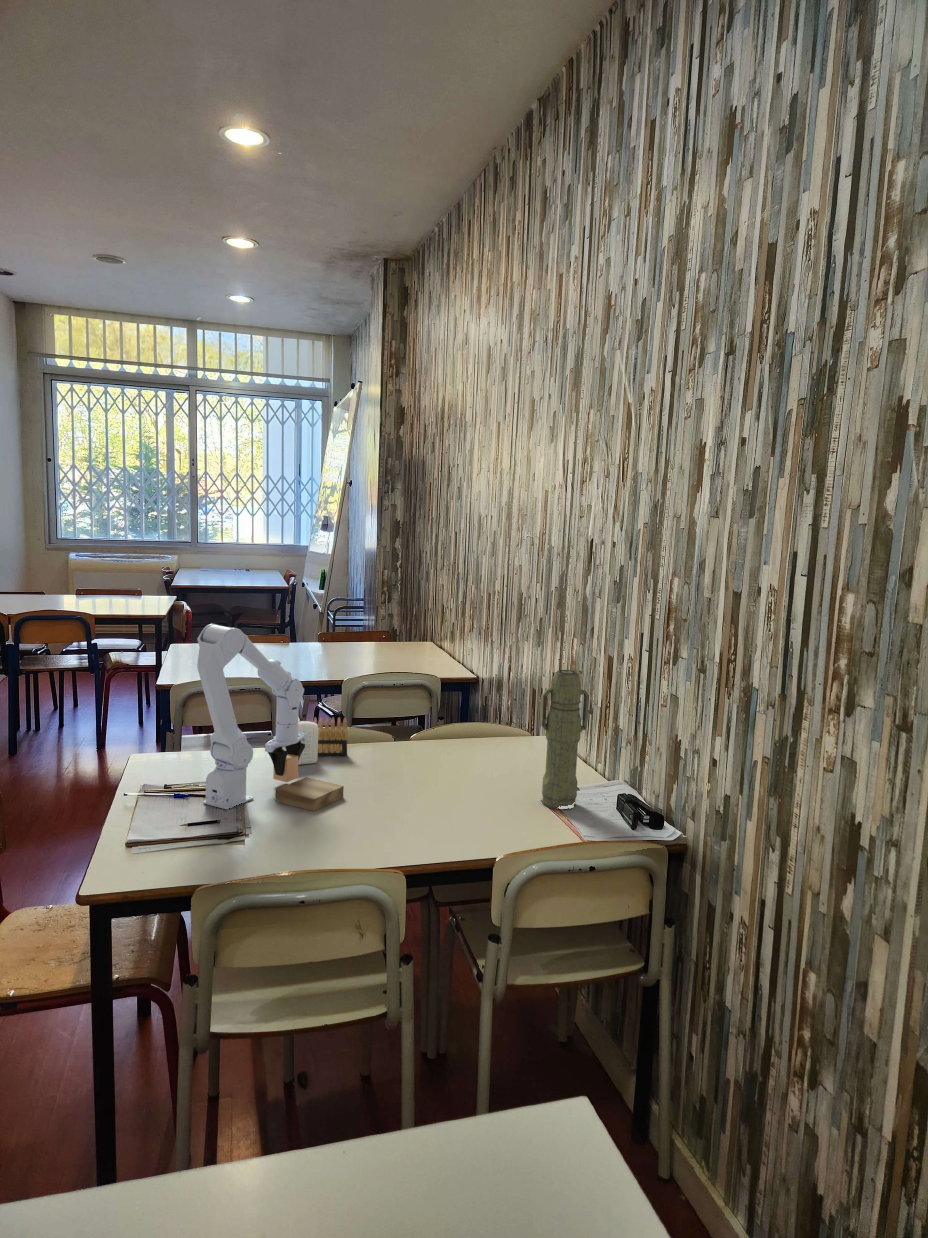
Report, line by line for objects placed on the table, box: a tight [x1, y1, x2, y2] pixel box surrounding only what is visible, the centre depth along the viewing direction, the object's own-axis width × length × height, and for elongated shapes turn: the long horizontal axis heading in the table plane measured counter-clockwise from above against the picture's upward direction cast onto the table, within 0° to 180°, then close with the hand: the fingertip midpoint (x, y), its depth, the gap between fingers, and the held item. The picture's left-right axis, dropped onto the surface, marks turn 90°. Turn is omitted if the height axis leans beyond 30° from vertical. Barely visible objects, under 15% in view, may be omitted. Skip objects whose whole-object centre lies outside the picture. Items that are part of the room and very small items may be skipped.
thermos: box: [540, 669, 590, 810], centre depth 203 cm, size 9×12×35 cm
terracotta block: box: [272, 754, 299, 783], centre depth 209 cm, size 4×4×6 cm
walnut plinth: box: [274, 776, 344, 812], centre depth 199 cm, size 12×12×3 cm
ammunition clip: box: [312, 716, 348, 758], centre depth 237 cm, size 11×2×12 cm, turn 101°
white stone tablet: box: [282, 720, 319, 766], centre depth 228 cm, size 10×4×12 cm, turn 123°
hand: (285, 772), depth 209 cm, fingers closed on terracotta block, 4 cm apart
